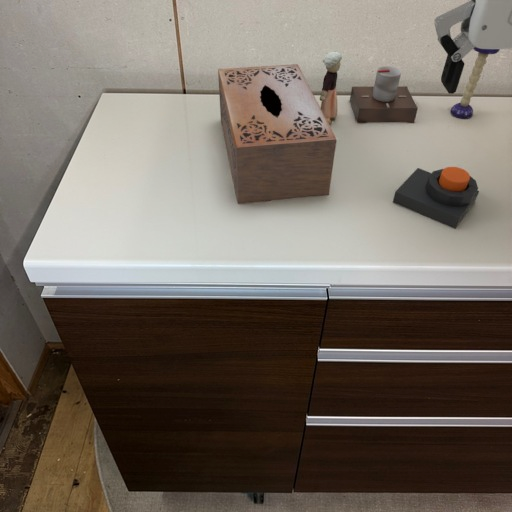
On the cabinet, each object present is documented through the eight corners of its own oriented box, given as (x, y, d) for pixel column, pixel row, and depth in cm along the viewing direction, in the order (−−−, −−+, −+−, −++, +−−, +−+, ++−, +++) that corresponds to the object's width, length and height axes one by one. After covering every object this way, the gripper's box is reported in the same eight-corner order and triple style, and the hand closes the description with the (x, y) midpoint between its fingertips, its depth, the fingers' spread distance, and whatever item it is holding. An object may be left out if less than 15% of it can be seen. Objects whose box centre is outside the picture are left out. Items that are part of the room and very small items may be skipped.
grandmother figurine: (334, 129, 89) (343, 61, 80) (314, 126, 89) (321, 59, 80) (338, 109, 94) (346, 44, 85) (318, 107, 94) (325, 42, 85)
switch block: (475, 201, 73) (484, 180, 71) (454, 229, 69) (463, 208, 66) (415, 177, 78) (421, 156, 75) (392, 202, 73) (397, 181, 70)
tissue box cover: (328, 195, 74) (336, 139, 67) (237, 204, 73) (236, 147, 66) (294, 115, 92) (297, 64, 85) (220, 120, 91) (218, 69, 84)
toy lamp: (477, 112, 93) (510, 23, 81) (471, 122, 90) (504, 32, 79) (453, 106, 95) (482, 18, 83) (446, 115, 92) (475, 26, 80)
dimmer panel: (403, 100, 97) (406, 85, 94) (414, 122, 90) (418, 107, 88) (349, 100, 97) (352, 85, 94) (356, 122, 90) (359, 107, 88)
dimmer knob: (390, 90, 93) (395, 63, 89) (399, 100, 90) (405, 73, 86) (369, 92, 92) (373, 65, 89) (377, 103, 89) (382, 75, 86)
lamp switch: (470, 182, 71) (474, 173, 69) (460, 195, 68) (464, 185, 67) (444, 173, 72) (448, 163, 71) (434, 185, 70) (437, 175, 69)
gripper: (473, -64, 45) (426, 103, 57) (650, -64, 46) (566, 102, 58) (448, -80, 51) (410, 76, 63) (607, -80, 51) (539, 75, 63)
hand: (485, 88), depth 60 cm, fingers open, 9 cm apart
